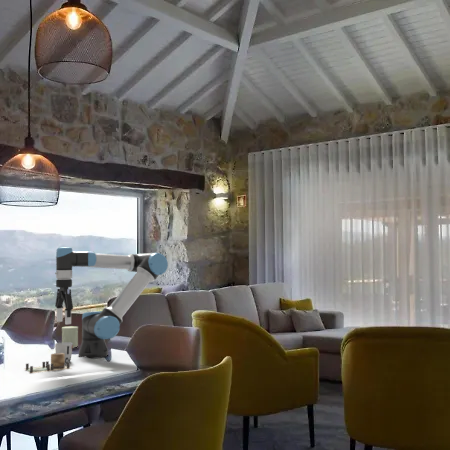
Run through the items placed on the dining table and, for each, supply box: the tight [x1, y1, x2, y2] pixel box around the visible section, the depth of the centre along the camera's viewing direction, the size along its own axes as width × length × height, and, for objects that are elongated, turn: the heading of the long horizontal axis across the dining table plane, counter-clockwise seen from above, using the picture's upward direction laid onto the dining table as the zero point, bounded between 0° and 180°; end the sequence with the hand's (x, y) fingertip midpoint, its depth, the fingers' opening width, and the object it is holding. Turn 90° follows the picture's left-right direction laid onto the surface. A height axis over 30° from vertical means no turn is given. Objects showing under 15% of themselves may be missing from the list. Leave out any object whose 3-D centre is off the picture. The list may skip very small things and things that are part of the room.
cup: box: [54, 342, 73, 364], centre depth 271 cm, size 8×8×10 cm
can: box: [61, 325, 79, 349], centre depth 323 cm, size 9×9×12 cm
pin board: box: [24, 360, 73, 374], centre depth 255 cm, size 18×13×4 cm
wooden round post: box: [50, 352, 66, 369], centre depth 257 cm, size 6×6×6 cm
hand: (63, 322), depth 272 cm, fingers open, 13 cm apart
